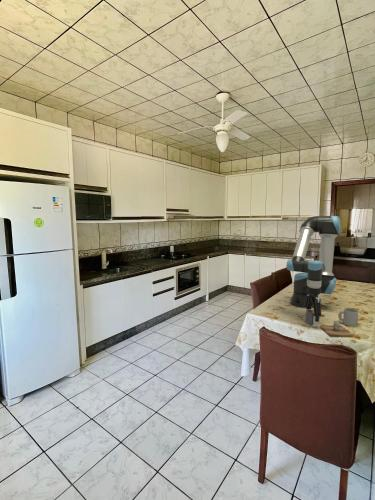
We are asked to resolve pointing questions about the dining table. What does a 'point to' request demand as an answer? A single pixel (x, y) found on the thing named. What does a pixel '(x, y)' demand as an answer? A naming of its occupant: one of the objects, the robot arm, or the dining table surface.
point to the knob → (309, 317)
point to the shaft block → (336, 330)
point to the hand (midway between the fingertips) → (312, 322)
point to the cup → (349, 317)
